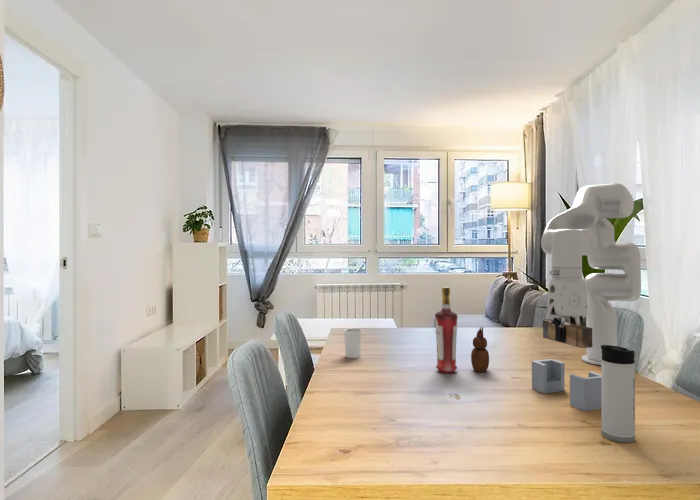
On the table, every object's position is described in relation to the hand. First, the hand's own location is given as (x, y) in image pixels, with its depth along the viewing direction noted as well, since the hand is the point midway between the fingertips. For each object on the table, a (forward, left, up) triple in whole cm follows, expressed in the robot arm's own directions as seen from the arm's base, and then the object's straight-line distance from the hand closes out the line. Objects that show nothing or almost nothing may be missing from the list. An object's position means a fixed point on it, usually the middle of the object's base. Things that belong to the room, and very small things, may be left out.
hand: (566, 340), depth 122 cm
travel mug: (+9, +23, -16) cm, 30 cm away
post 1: (0, -7, -16) cm, 17 cm away
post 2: (0, +7, -16) cm, 17 cm away
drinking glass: (+41, -64, -16) cm, 77 cm away
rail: (0, 0, -1) cm, 1 cm away
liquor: (+18, -34, -16) cm, 41 cm away
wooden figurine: (+7, -31, -16) cm, 35 cm away
